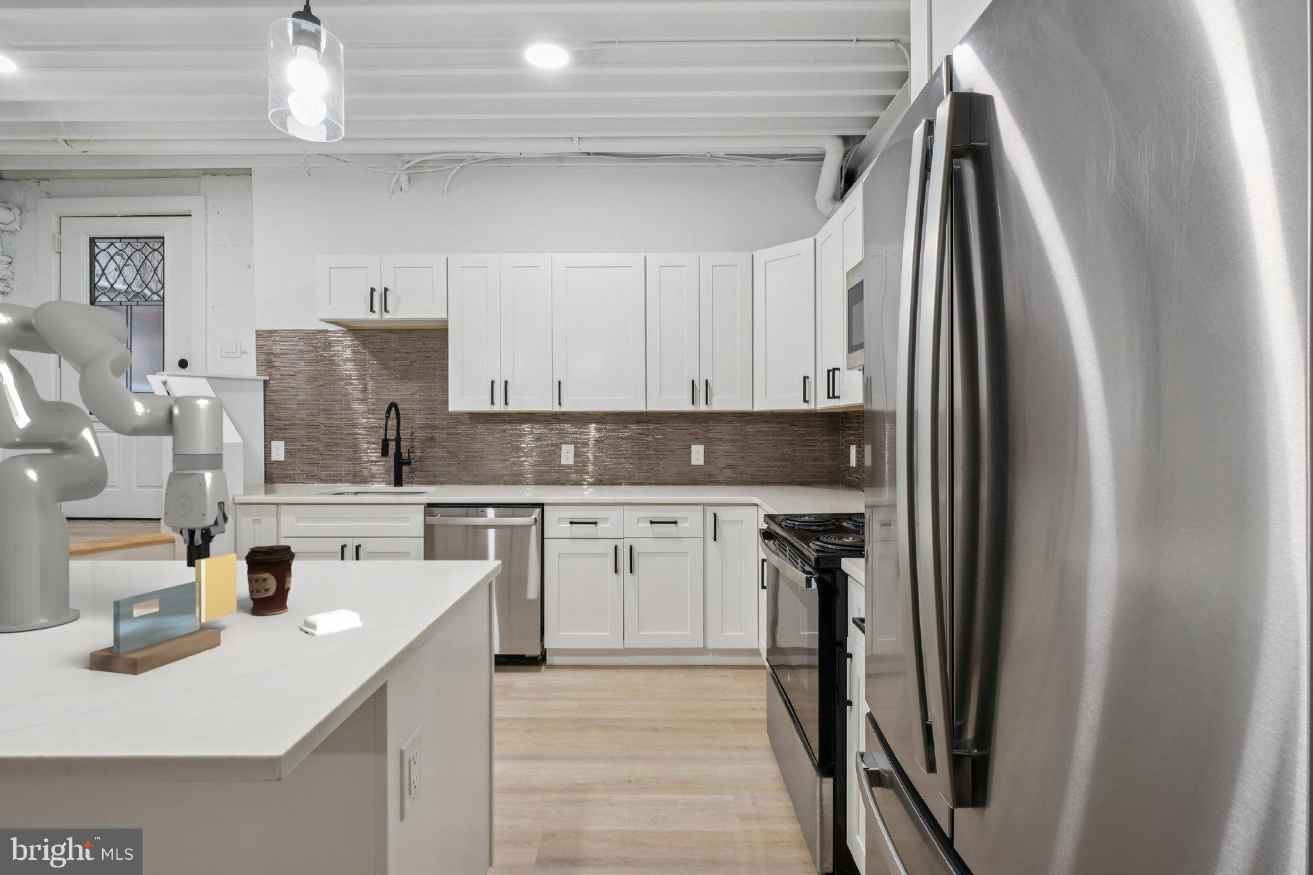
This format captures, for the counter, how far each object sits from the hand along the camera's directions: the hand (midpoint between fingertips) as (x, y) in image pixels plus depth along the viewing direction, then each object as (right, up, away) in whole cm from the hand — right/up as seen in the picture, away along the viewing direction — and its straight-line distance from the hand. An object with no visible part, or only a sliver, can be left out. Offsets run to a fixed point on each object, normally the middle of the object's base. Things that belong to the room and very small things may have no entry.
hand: (198, 565), depth 119 cm
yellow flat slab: (+6, -8, -4) cm, 11 cm away
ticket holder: (+4, -12, -14) cm, 19 cm away
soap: (+23, -12, +2) cm, 26 cm away
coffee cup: (+6, -12, +12) cm, 18 cm away
